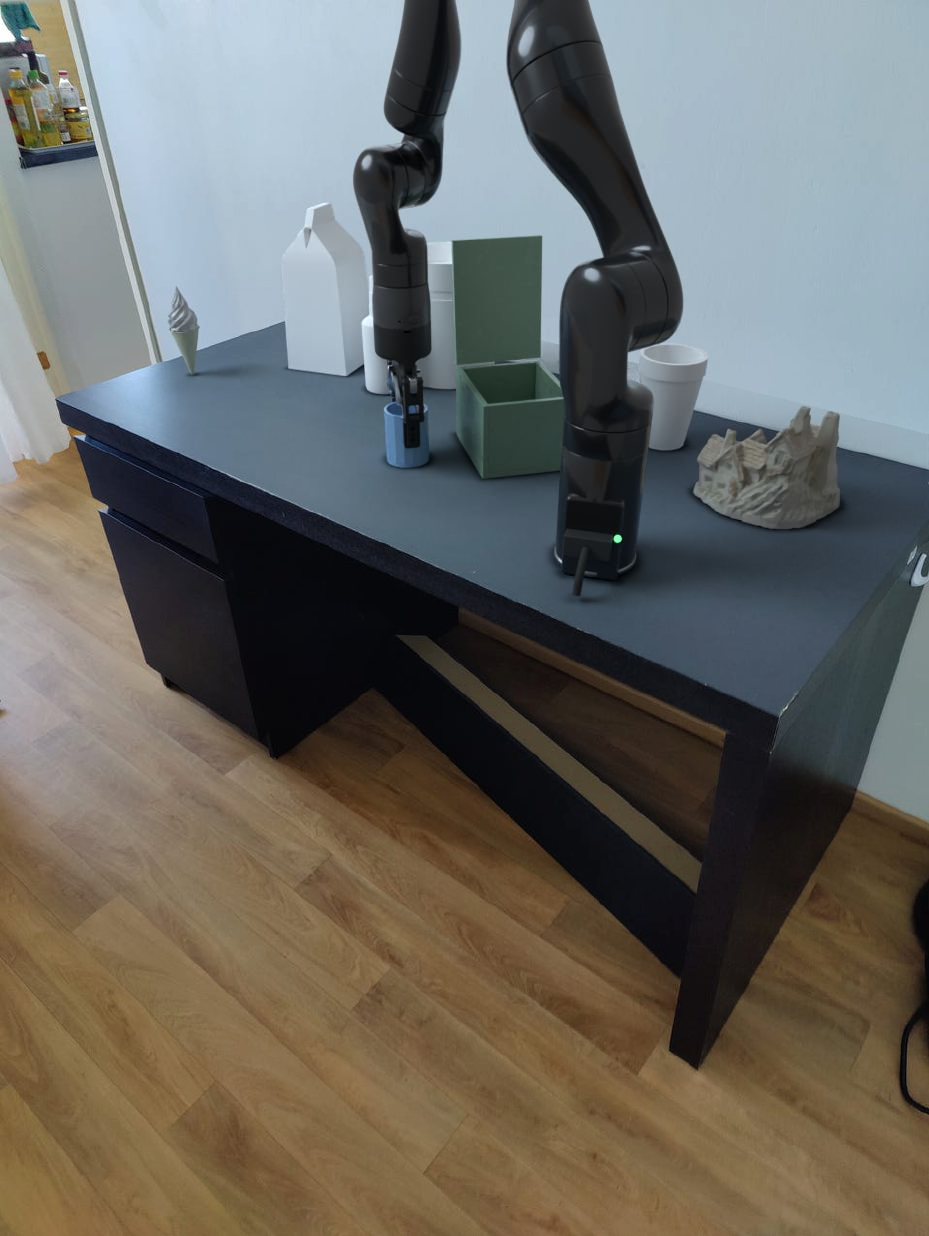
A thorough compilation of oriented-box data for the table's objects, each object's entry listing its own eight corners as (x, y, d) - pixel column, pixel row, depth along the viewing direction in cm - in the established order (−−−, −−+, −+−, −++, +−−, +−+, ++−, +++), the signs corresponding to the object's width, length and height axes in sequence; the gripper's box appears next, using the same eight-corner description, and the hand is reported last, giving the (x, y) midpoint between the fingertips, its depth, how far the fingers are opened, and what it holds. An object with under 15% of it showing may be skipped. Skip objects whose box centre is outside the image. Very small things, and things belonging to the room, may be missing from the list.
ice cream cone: (194, 367, 158) (178, 280, 149) (213, 373, 155) (198, 284, 147) (171, 375, 155) (154, 286, 146) (190, 381, 152) (174, 291, 144)
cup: (421, 470, 123) (419, 418, 118) (380, 465, 124) (377, 414, 120) (434, 452, 127) (433, 402, 123) (395, 448, 129) (392, 398, 124)
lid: (542, 235, 121) (531, 232, 125) (452, 240, 118) (444, 236, 123) (540, 357, 129) (530, 350, 133) (456, 364, 126) (448, 357, 131)
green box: (570, 469, 123) (575, 397, 117) (482, 479, 120) (483, 406, 114) (536, 426, 135) (539, 360, 129) (456, 434, 133) (455, 367, 127)
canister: (508, 382, 151) (511, 259, 140) (419, 394, 147) (415, 267, 135) (475, 353, 164) (476, 238, 152) (392, 364, 159) (386, 246, 148)
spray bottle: (414, 385, 150) (410, 274, 140) (390, 397, 145) (384, 284, 135) (382, 378, 153) (375, 269, 143) (357, 390, 148) (349, 278, 138)
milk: (346, 376, 154) (333, 214, 139) (288, 368, 157) (269, 209, 143) (376, 355, 163) (366, 201, 148) (321, 348, 167) (306, 197, 152)
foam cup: (694, 457, 126) (708, 367, 118) (628, 452, 127) (638, 362, 120) (693, 431, 133) (707, 345, 126) (631, 426, 135) (641, 341, 128)
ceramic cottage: (858, 505, 113) (880, 390, 105) (768, 543, 106) (783, 424, 98) (764, 468, 124) (776, 362, 116) (677, 501, 118) (684, 390, 110)
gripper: (365, 304, 119) (372, 417, 129) (382, 336, 108) (388, 458, 117) (419, 300, 121) (422, 413, 130) (442, 331, 110) (443, 453, 119)
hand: (406, 434), depth 124 cm, fingers open, 8 cm apart
